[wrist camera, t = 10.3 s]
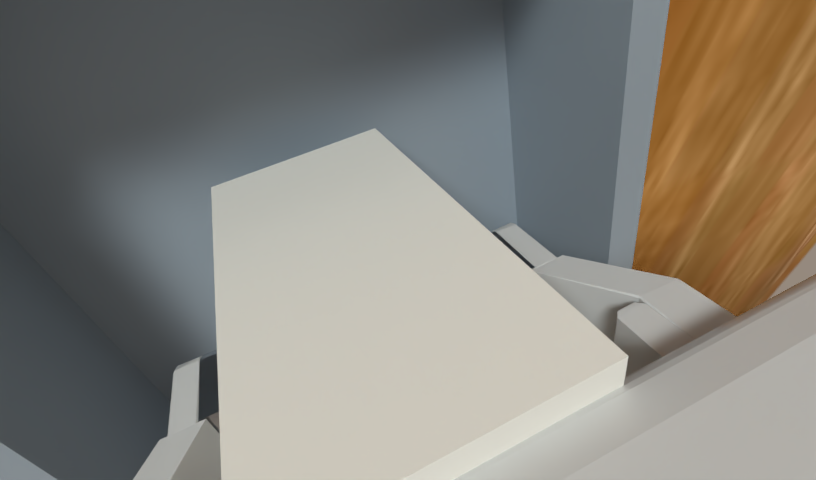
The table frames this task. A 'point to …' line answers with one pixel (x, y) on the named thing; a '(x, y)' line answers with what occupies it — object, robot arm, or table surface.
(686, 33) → the table surface
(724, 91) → the table surface
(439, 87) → the slate bin
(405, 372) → the ivory rectangular pillar
